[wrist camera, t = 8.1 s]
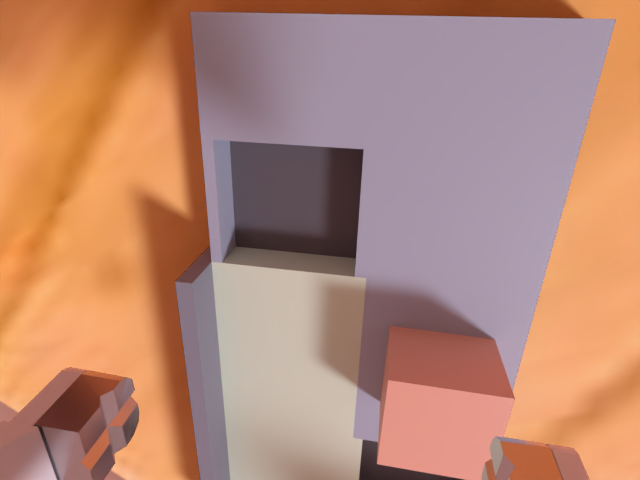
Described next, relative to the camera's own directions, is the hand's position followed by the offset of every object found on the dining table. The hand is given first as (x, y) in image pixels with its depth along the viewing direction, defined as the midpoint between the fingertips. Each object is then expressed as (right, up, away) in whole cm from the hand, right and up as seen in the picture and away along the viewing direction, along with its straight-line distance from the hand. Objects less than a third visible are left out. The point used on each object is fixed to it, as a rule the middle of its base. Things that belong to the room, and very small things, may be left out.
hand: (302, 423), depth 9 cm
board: (+3, -1, +12) cm, 13 cm away
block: (+6, -2, +10) cm, 12 cm away
